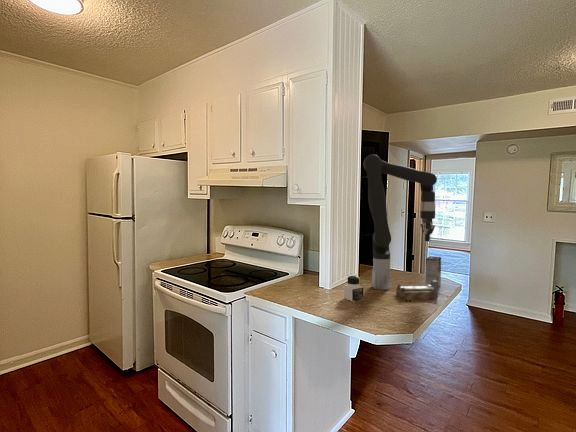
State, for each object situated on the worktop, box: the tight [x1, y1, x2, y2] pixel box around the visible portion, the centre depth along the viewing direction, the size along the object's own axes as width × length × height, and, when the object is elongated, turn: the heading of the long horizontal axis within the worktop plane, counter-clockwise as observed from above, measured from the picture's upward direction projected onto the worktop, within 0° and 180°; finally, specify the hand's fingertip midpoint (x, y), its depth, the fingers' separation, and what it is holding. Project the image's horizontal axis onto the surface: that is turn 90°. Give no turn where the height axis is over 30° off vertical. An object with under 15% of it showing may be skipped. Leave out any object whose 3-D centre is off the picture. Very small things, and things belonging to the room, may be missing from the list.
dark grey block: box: [431, 280, 439, 298], centre depth 168 cm, size 2×3×8 cm
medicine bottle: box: [343, 275, 364, 303], centre depth 165 cm, size 7×7×12 cm
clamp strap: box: [399, 285, 434, 290], centre depth 168 cm, size 17×4×2 cm, turn 91°
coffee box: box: [425, 255, 442, 287], centre depth 187 cm, size 9×6×16 cm
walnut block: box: [395, 284, 436, 301], centre depth 168 cm, size 17×9×6 cm, turn 91°
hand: (427, 241), depth 179 cm, fingers closed
